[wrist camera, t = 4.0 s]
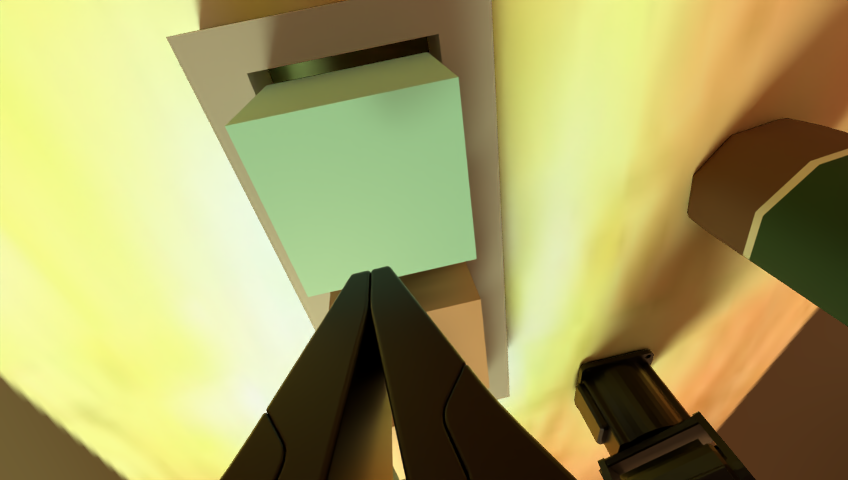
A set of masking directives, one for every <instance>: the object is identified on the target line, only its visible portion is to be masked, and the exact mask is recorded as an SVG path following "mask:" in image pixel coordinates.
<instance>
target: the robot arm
mask: <svg viewBox="0 0 848 480" xmlns="http://www.w3.org/2000/svg"><path fill="white" fill-rule="evenodd" d="M653 356H654V354H653V353H652V351H651V350H649V349H646V350H642V351H638V352H634V353H629V354H625V355H621V356H617V357H613V358H608V359H604V360H600V361H596V362H592V363H587V364H584V365H582V366H581V367H580V370H579V377H578V383H577V386H576V392H575V399H574V401H575V405H576V407H577V408H578V409H579V411H580V412H581V414H582V416H583V418H584V420H585V422H586V424H587V426H588V427H589V429H590V431H591V433H592V435H593V437H594V439H595V441H596V442H597V443H598V444H604V445H605V447H606V448H607V450H608V452H609V454H610V457H608V458H606V459H604V458H603V459H601V460H599V461H598V463H599V466H600V468H601V469H600V470H599V471H600V473H601V475H602V477H603V479H604V480H755V478H754V477H753V476H752V475H751V473H750V472H749V471H748V470H747V468H746V467H745V466H744V465H743V464H742V462H741V461H740V460H739V459H738V458H737V456H736V455H735V454H734V453H733V452H732V450H731V449H730V448H729V447H728V446H727V444H726V443H725V442H724V441H723V440H722V438H721V437H720V436H719V435H718V434H717V432H716V431H715V430H714V429H713V428H712V426H711V425H710V424H709V423H708V422H707V420H706V419H705V418H704V417H703V416H702V414H701V413H700V412H696V413H694V414H692V415H693V416H692V417H690V415H689V414H688V413H687V411H686V410H685V409H684V408H683V406H682V405H681V404H680V403H679V401H678V400H677V399H676V398H675V396H674V395H673V394H672V393H671V391H670V390H669V389H668V387H667V386H666V385H665V384H664V382H663V381H662V380H661V379H660V377H659V376H658V375H657V374H656V372H655V371H654V370H653V368H652V367H651V366H650V365H651V362H652V359H653ZM266 411H267V413H268V414H267V413H264V414H263V415H262V417H261V418H260V420H259V421H258V423H257V425H256V426H255V428H254V429H253V431H252V433H251V434H250V436H249V437H248V439H247V440H246V442H245V443H244V445H243V446H242V448H241V449H240V451H239V452H238V454H237V455H236V457H235V458H234V460H233V461H232V463H231V464H230V466H229V467H228V469H227V470H226V472H225V473H224V474H223V476H222V477H221V478H220V480H393V453H392V417H393V421H394V426H395V431H396V436H397V440H398V445H399V450H400V454H401V459H402V464H403V469H404V473H405V478H406V480H577V479H576V478H575V477H574V476H573V475H572V474H571V473H570V472H569V471H568V470H567V469H565V468H564V467H563V466H562V465H561V464H560V463H559V462H558V461H557V460H556V459H555V458H554V457H553V456H552V455H551V454H550V453H549V452H548V451H547V450H546V449H545V448H544V447H543V446H542V445H541V444H540V443H539V442H538V441H537V440H536V439H535V438H534V437H533V436H532V435H530V434H529V433H528V432H527V431H526V430H525V429H524V428H523V427H522V426H521V425H520V424H519V423H518V421H517V420H516V419H515V418H514V417H513V416H512V415H511V414H510V413H509V412H508V411H507V410H506V409H505V408H504V407H503V406H502V405H501V404H500V403H499V402H498V401H497V399H496V398H495V397H494V396H493V395H492V393H491V392H490V391H489V390H488V389H487V388H486V386H485V385H484V384H483V383H482V382H481V381H480V379H479V378H478V377H477V376H476V374H475V373H474V372H473V370H472V369H471V368H470V367H469V366H468V365H466V362H465V361H464V359H463V358H462V357H461V356H460V354H459V353H458V352H457V351H456V349H455V348H454V347H453V346H452V344H451V343H450V342H449V340H448V339H447V338H446V337H445V335H444V334H443V333H442V332H441V330H440V329H439V328H438V327H437V325H436V324H435V323H434V322H433V320H432V319H431V318H430V316H429V315H428V314H427V313H426V311H425V310H424V309H423V308H422V306H421V305H420V304H419V303H418V301H417V300H416V299H415V297H414V296H413V295H412V294H411V292H410V291H409V290H408V289H407V287H406V286H405V285H404V284H403V282H402V281H401V280H400V278H399V277H398V276H397V275H396V273H395V272H394V271H393V270H392V268H391V267H389V266H385V267H381V268H376V269H373V270H372V271H371V272H370V271H363V272H359V273H354V274H352V275H351V276H350V278H349V279H348V281H347V282H346V284H345V285H344V287H343V289H342V290H341V292H340V293H339V295H338V297H337V298H336V300H335V301H334V303H333V304H332V306H331V308H330V309H329V311H328V312H327V314H326V316H325V317H324V319H323V320H322V322H321V324H320V325H319V327H318V328H317V330H316V331H315V333H314V335H313V336H312V338H311V339H310V341H309V343H308V344H307V346H306V347H305V349H304V350H303V352H302V354H301V355H300V357H299V358H298V360H297V362H296V363H295V365H294V366H293V368H292V369H291V371H290V373H289V374H288V376H287V377H286V379H285V381H284V382H283V384H282V385H281V387H280V388H279V390H278V392H277V393H276V395H275V396H274V398H273V400H272V401H271V403H270V404H269V406H268V408H267V410H266ZM713 441H714V443H715V444H716V446H713V445H711V444H709V443H711V442H713Z"/></svg>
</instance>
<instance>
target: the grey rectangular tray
mask: <svg viewBox="0 0 848 480" xmlns="http://www.w3.org/2000/svg"><path fill="white" fill-rule="evenodd" d="M426 36H427V39H428V46H429V53H430V54H431V55H432V56H433V57H434V58H436V59H437V60H438V61H439V62H441V63H442V64H443V65H444V66H445V67H447V68H448V69H449V70H450V71H452V72H453V73H454V74H455V75H457V76H458V77H459V87H460V97H461V107H462V117H463V127H464V137H465V147H466V157H467V167H468V177H469V187H470V197H471V207H472V217H473V227H474V237H475V247H476V257H477V259H474V260H470V261H465V262H466V264H467V267H468V269H469V271H470V274H471V276H472V279H473V281H474V284H475V286H476V289H477V291H478V294H479V296H480V299H481V306H482V316H483V326H484V336H485V346H486V356H487V366H488V376H489V386H490V388H488V390H489V391H490V392H491V393H492V395H493V396H494V397H495V398H496V399H501V398H505V397H509V374H508V352H507V330H506V308H505V286H504V264H503V242H502V220H501V198H500V176H499V154H498V132H497V110H496V88H495V66H494V44H493V22H492V0H346V1H341V2H336V3H331V4H326V5H321V6H316V7H311V8H306V9H302V10H297V11H292V12H287V13H282V14H277V15H272V16H267V17H262V18H257V19H252V20H247V21H242V22H237V23H232V24H227V25H222V26H217V27H212V28H207V29H202V30H197V31H193V32H188V33H184V34H179V35H174V36H170V37H166V38H167V40H168V42H169V44H170V46H171V48H172V50H173V52H174V53H175V55H176V57H177V59H178V61H179V63H180V65H181V67H182V69H183V71H184V73H185V75H186V77H187V79H188V81H189V83H190V85H191V87H192V89H193V91H194V93H195V95H196V97H197V99H198V101H199V103H200V105H201V107H202V109H203V110H204V112H205V114H206V116H207V118H208V120H209V122H210V124H211V126H212V128H213V130H214V132H215V134H216V136H217V138H218V140H219V142H220V144H221V146H222V148H223V150H224V152H225V154H226V156H227V158H228V160H229V162H230V164H231V166H232V167H233V169H234V171H235V173H236V175H237V177H238V179H239V181H240V183H241V185H242V187H243V189H244V191H245V193H246V195H247V197H248V199H249V201H250V203H251V205H252V207H253V209H254V211H255V213H256V215H257V217H258V219H259V221H260V223H261V224H262V226H263V228H264V230H265V232H266V234H267V236H268V238H269V240H270V242H271V244H272V246H273V248H274V250H275V252H276V254H277V256H278V258H279V260H280V262H281V264H282V266H283V268H284V270H285V272H286V274H287V276H288V278H289V280H290V281H291V283H292V285H293V287H294V289H295V291H296V293H297V295H298V297H299V299H300V301H301V303H302V305H303V307H304V309H305V311H306V313H307V315H308V317H309V319H310V321H311V323H312V325H313V327H314V329H315V331H316V330H317V328H318V327H319V325H320V324H321V322H322V320H323V319H324V317H325V316H326V314H327V312H328V311H329V302H330V292H329V293H324V294H320V295H315V296H311V297H308V296H307V294H306V292H305V290H304V288H303V286H302V284H301V282H300V280H299V278H298V276H297V274H296V271H295V269H294V267H293V265H292V263H291V261H290V259H289V257H288V255H287V253H286V251H285V249H284V247H283V245H282V243H281V241H280V239H279V237H278V235H277V232H276V230H275V228H274V226H273V224H272V222H271V220H270V218H269V216H268V214H267V212H266V210H265V208H264V206H263V204H262V202H261V200H260V198H259V196H258V193H257V191H256V189H255V187H254V185H253V183H252V181H251V179H250V177H249V175H248V173H247V171H246V169H245V167H244V165H243V163H242V161H241V159H240V157H239V155H238V152H237V150H236V148H235V146H234V144H233V142H232V140H231V138H230V136H229V134H228V132H227V130H226V128H225V125H226V124H227V123H228V122H229V121H230V120H231V119H232V118H234V117H235V116H236V115H237V114H238V113H239V112H240V111H241V110H242V109H243V108H244V107H245V106H246V105H247V104H248V103H249V102H250V101H251V100H252V99H253V98H254V97H255V96H256V95H257V94H258V93H259V92H260V91H261V90H262V89H263V88H264V87H265V86H266V85H271V84H273V82H272V79H271V76H270V74H269V71H268V69H271V68H276V67H281V66H285V65H290V64H295V63H300V62H305V61H310V60H315V59H319V58H324V57H329V56H334V55H339V54H344V53H348V52H353V51H358V50H363V49H368V48H373V47H378V46H382V45H387V44H392V43H397V42H402V41H407V40H412V39H416V38H421V37H426Z"/></svg>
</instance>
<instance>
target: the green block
mask: <svg viewBox="0 0 848 480" xmlns="http://www.w3.org/2000/svg"><path fill="white" fill-rule="evenodd" d="M225 128H226V130H227V132H228V134H229V136H230V138H231V140H232V142H233V144H234V146H235V148H236V150H237V152H238V155H239V157H240V159H241V161H242V163H243V165H244V167H245V169H246V171H247V173H248V175H249V177H250V179H251V181H252V183H253V185H254V187H255V189H256V191H257V193H258V196H259V198H260V200H261V202H262V204H263V206H264V208H265V210H266V212H267V214H268V216H269V218H270V220H271V222H272V224H273V226H274V228H275V230H276V232H277V235H278V237H279V239H280V241H281V243H282V245H283V247H284V249H285V251H286V253H287V255H288V257H289V259H290V261H291V263H292V265H293V267H294V269H295V271H296V274H297V276H298V278H299V280H300V282H301V284H302V286H303V288H304V290H305V292H306V294H307V296H308V297H311V296H315V295H320V294H324V293H329V292H333V291H338V290H342V289H343V287H344V285H345V284H346V282H347V281H348V279H349V278H350V276H351V275H352V274H354V273H359V272H363V271H370V272H371V271H372V270H373V269H376V268H381V267H385V266H389V267H391V268H392V270H393V271H394V272H395V273H396V275H397V276H398V277H399V276H404V275H408V274H413V273H417V272H421V271H426V270H430V269H435V268H439V267H443V266H448V265H452V264H457V263H461V262H465V261H470V260H474V259H477V257H476V247H475V237H474V227H473V217H472V207H471V197H470V187H469V177H468V167H467V157H466V147H465V137H464V127H463V117H462V107H461V97H460V87H459V77H458V76H457V75H455V74H454V73H453V72H452V71H450V70H449V69H448V68H447V67H445V66H444V65H443V64H442V63H441V62H439V61H438V60H437V59H436V58H434V57H433V56H432V55H431V54H429V53H428V52H425V53H420V54H415V55H410V56H406V57H401V58H396V59H391V60H386V61H382V62H377V63H372V64H367V65H362V66H357V67H353V68H348V69H343V70H338V71H333V72H329V73H324V74H319V75H314V76H309V77H304V78H300V79H295V80H290V81H285V82H280V83H276V84H271V85H266V86H265V87H264V88H263V89H262V90H261V91H260V92H259V93H258V94H257V95H256V96H255V97H254V98H253V99H252V100H251V101H250V102H249V103H248V104H247V105H246V106H245V107H244V108H243V109H242V110H241V111H240V112H239V113H238V114H237V115H236V116H235V117H234V118H232V119H231V120H230V121H229V122H228V123H227V124H226V125H225Z"/></svg>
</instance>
